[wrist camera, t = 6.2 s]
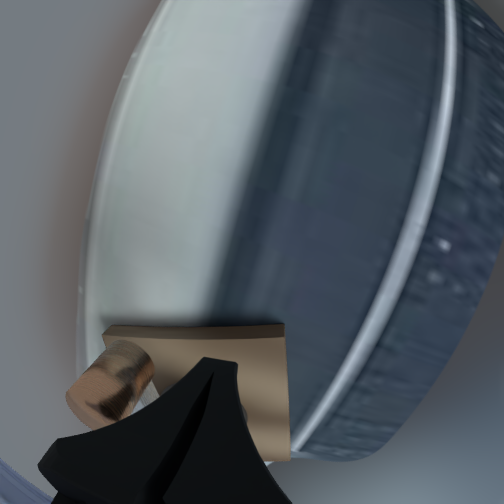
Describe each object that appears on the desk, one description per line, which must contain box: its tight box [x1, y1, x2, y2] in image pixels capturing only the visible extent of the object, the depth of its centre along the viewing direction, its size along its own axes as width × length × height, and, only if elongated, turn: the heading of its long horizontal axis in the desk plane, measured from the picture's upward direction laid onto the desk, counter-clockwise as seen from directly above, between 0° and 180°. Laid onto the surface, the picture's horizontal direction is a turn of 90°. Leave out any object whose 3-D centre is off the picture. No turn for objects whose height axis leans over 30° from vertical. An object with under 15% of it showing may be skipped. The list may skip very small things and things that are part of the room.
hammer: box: [66, 340, 159, 430], centre depth 10 cm, size 10×2×4 cm, turn 10°
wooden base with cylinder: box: [102, 324, 290, 461], centre depth 16 cm, size 13×12×6 cm
